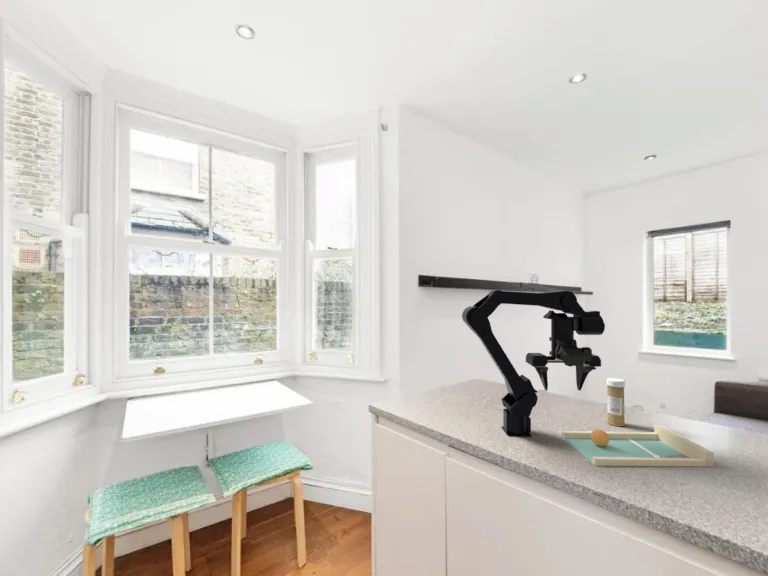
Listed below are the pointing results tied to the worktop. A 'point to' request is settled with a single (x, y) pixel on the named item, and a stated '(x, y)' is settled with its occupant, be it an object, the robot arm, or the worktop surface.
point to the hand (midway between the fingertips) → (562, 390)
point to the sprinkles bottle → (615, 401)
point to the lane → (640, 448)
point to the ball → (600, 437)
